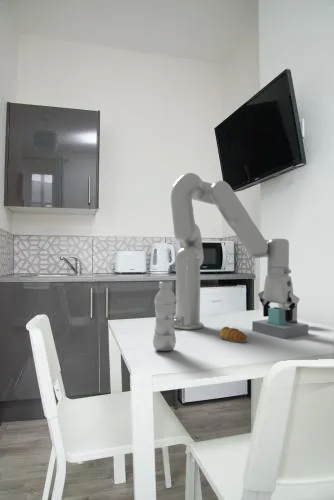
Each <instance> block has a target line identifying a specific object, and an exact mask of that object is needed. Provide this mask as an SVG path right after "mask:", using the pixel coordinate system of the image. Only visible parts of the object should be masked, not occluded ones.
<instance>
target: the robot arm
mask: <svg viewBox="0 0 334 500" xmlns="http://www.w3.org/2000/svg"><path fill="white" fill-rule="evenodd" d="M192 200H194V201H196V202H197V201H198V202H202V203H206V204H210V205H215V206H216V208H217V209H218V211H219V212H220V214H221V216H222V217H223V219H224V220H225V221H226V222H225V223H227V225H228V226H229V227H230V228H231V229H232V230H233V232H234V233H235V235H236V236H237V238H238V240H239V241H240V242H241V244H242V245H243V248H244V249H245V250H246V252H247V254H248V255H249V256H250V257H252V258H253V259H260V258H267V262H266V263H267V268H266V269H267V270H266V271H267V272H266V274H267V275H265V279H264V287H263V290H262V291H260V292H259V293H258V294H257V295H258V298H259V301H260V303H261V306H262V309H263V310H262V311H263V313H262V315H263V317H267V318H268V308H271V305H270V304H271V303H274V304H278V303H280V304H284V305H285V307H286V308H287V310H285V320H286V321H292V318H293V309H294V308H295V307H296V306H297V307H298V304H299V302H300V298H299V297H298V296H297V295H295V294H294V289H293V281H292V276H290V274H291V273H292V270H291V269H290V268H289V267H290V266H289V263H290V242H289V240H288V239H286V238H270V239H265V237H264V236H263V234H262V233H261V231H260V230H259V228H258V227H257V225H256V224H255V222H254V221H253V220H252V218H251V216H250V214H249V213H248V211H247V209H246V208H245V207H244V205H243V203H242V201H241V200H240V199H239V197H238V196H237V195H236V192H235V191H234V190H233V188H232V187H231V185H230V184H229V183H228V182H226V181H225V180H218V181H215V182H214V183H211V182H208V181H207V182H206V181H203V180H202V179H201V177H200V176H199V175H197V174H196V173H194V172H187V173H184V174H183V175H181V176H179V178H178V179H176V181H175V182H174V184H173V186H172V188H171V193H170V204H171V205H170V206H171V216H172V223H173V235H174V237H175V239H176V240H177V241H178V242H179V246H180V247H179V250H178V251H177V253H176V255H175V278H176V279H175V296H176V299H177V303H176V309H175V318H174V329H178V330H179V329H180V330H200V329H203V328H204V322H201V320H200V319H201V318H200V317H201V316H200V315H201V266H202V265H203V263H204V259H205V258H204V249H203V242H202V234H201V230H200V227H199V226H198V225H197V224H196V219H195V215H194V206H193V202H192ZM292 302H293V303H292Z"/></svg>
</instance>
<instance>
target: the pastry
mask: <svg viewBox="0 0 334 500" xmlns="http://www.w3.org/2000/svg"><path fill="white" fill-rule="evenodd" d="M218 334H219V337H220V338H221V339H222V340H223V339H224V341H228V342H232V343H243V342H246V341H247V339H248V336H247V335H246V334H245V333H244V332H243V331H241V330H239V329H237V328H234V327H229V326H224V327H222V328H221V330H220V331H219V333H218Z"/></svg>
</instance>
